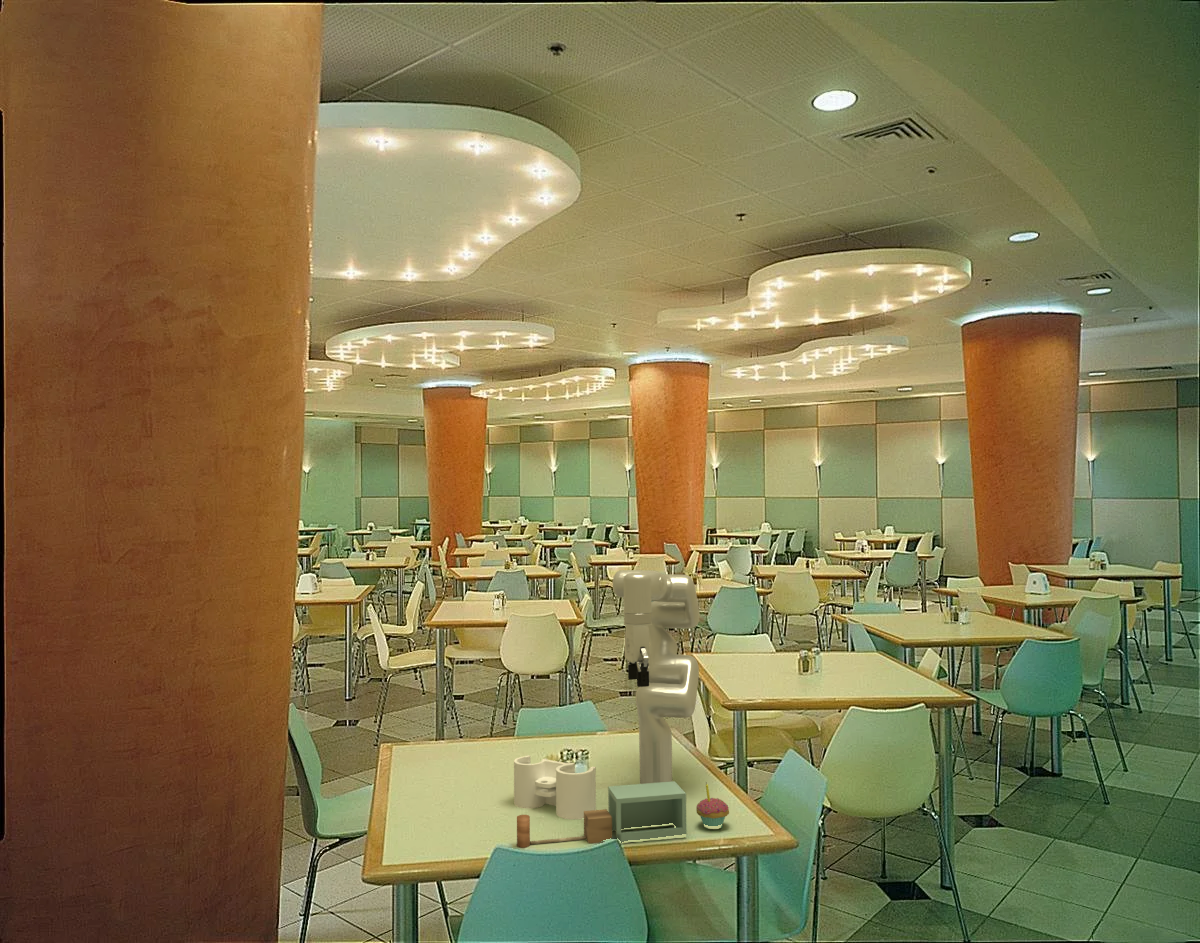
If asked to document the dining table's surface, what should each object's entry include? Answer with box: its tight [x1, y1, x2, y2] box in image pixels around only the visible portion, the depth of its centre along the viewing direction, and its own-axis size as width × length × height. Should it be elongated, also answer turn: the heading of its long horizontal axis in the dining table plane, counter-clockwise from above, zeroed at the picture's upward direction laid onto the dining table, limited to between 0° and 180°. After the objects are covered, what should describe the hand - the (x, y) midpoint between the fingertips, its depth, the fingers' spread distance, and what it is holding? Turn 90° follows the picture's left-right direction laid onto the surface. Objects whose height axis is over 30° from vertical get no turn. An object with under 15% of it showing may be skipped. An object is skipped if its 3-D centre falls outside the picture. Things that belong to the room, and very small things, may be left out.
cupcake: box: [695, 781, 730, 826], centre depth 236 cm, size 9×8×12 cm
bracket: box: [513, 754, 597, 820], centre depth 251 cm, size 25×10×12 cm, turn 57°
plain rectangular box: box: [607, 780, 688, 843], centre depth 231 cm, size 10×18×11 cm, turn 102°
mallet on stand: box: [516, 808, 613, 849], centre depth 227 cm, size 6×24×7 cm, turn 103°
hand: (638, 682), depth 243 cm, fingers open, 9 cm apart
